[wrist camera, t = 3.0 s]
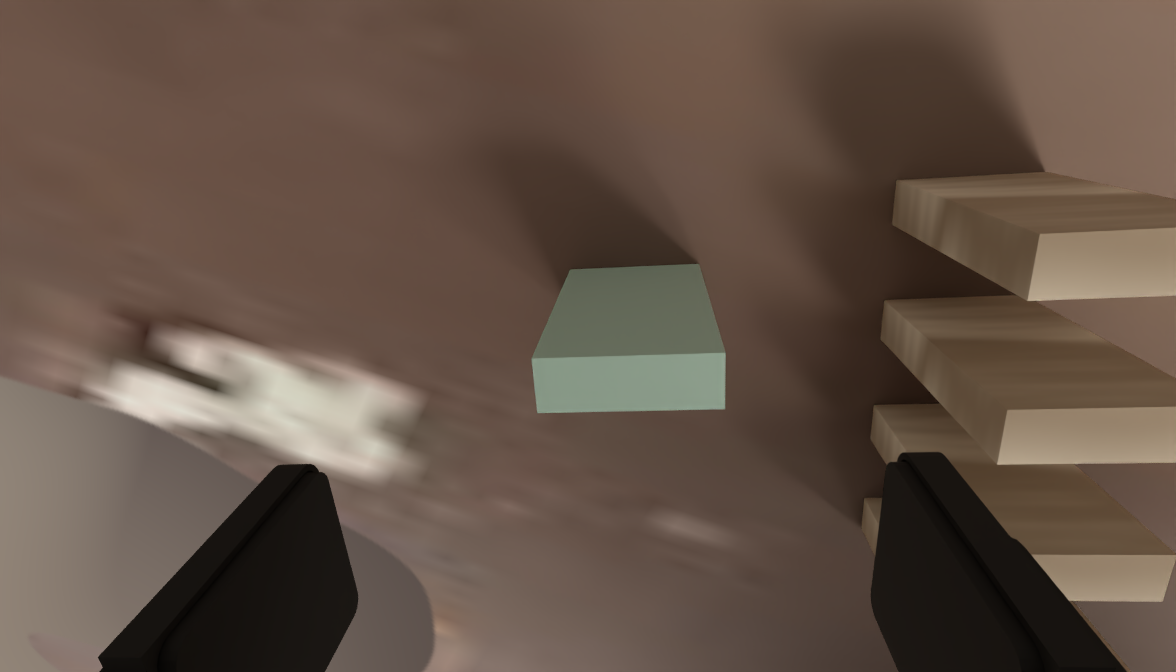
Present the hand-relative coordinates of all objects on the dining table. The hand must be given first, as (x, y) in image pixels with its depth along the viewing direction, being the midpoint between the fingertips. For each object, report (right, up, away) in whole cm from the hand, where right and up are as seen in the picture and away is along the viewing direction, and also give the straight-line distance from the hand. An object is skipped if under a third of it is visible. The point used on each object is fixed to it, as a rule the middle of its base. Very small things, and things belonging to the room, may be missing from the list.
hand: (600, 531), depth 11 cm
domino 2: (+13, +8, +12) cm, 20 cm away
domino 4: (+14, 0, +15) cm, 21 cm away
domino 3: (+14, +4, +14) cm, 20 cm away
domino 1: (+2, +5, +14) cm, 15 cm away
